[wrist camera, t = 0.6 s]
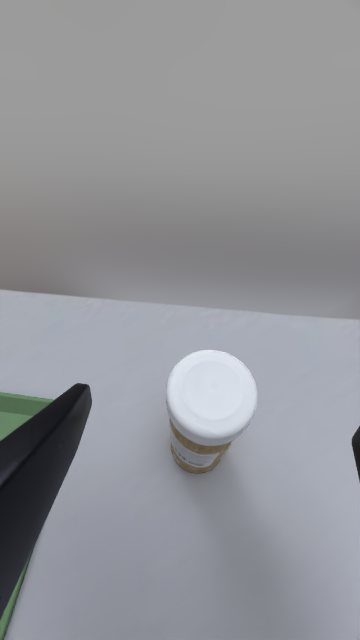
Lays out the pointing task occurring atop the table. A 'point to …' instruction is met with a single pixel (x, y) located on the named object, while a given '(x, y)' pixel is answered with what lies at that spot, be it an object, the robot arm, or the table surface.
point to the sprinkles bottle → (208, 407)
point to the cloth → (3, 418)
